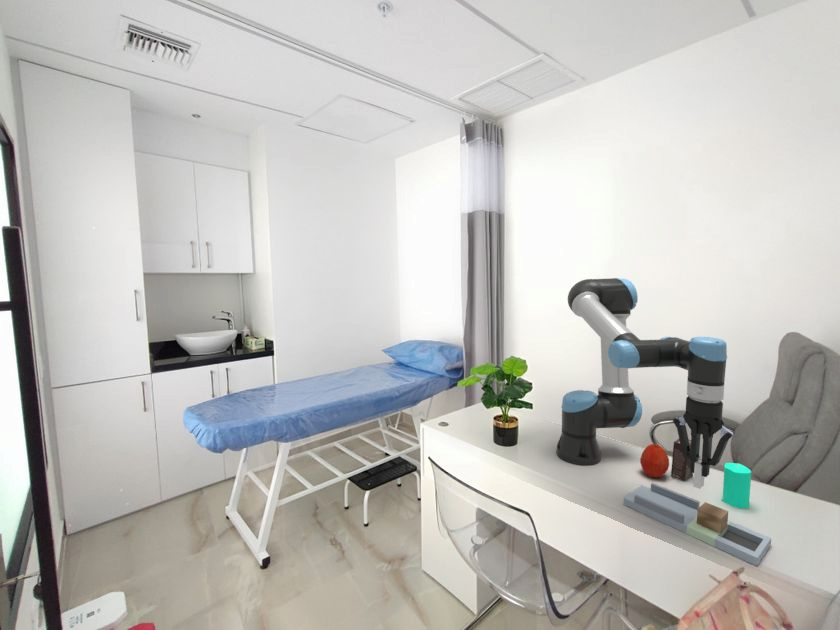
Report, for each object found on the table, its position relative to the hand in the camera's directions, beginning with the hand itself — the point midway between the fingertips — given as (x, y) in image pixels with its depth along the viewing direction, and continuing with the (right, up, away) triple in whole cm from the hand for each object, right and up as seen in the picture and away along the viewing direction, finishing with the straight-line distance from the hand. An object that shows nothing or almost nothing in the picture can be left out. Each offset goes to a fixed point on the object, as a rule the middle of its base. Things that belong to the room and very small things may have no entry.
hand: (698, 485), depth 101 cm
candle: (+18, -10, +11) cm, 23 cm away
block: (+2, -9, -2) cm, 10 cm away
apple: (+4, -8, +27) cm, 28 cm away
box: (+13, -8, +25) cm, 29 cm away
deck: (-1, -11, +2) cm, 11 cm away
